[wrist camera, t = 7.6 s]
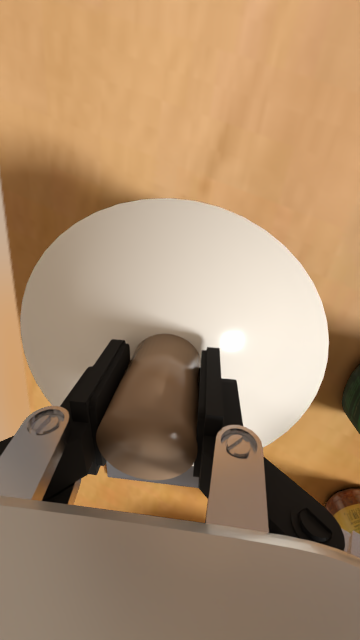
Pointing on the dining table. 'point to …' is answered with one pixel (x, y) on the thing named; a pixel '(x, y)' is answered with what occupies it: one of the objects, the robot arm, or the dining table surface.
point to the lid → (174, 325)
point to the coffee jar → (353, 398)
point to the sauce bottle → (346, 509)
